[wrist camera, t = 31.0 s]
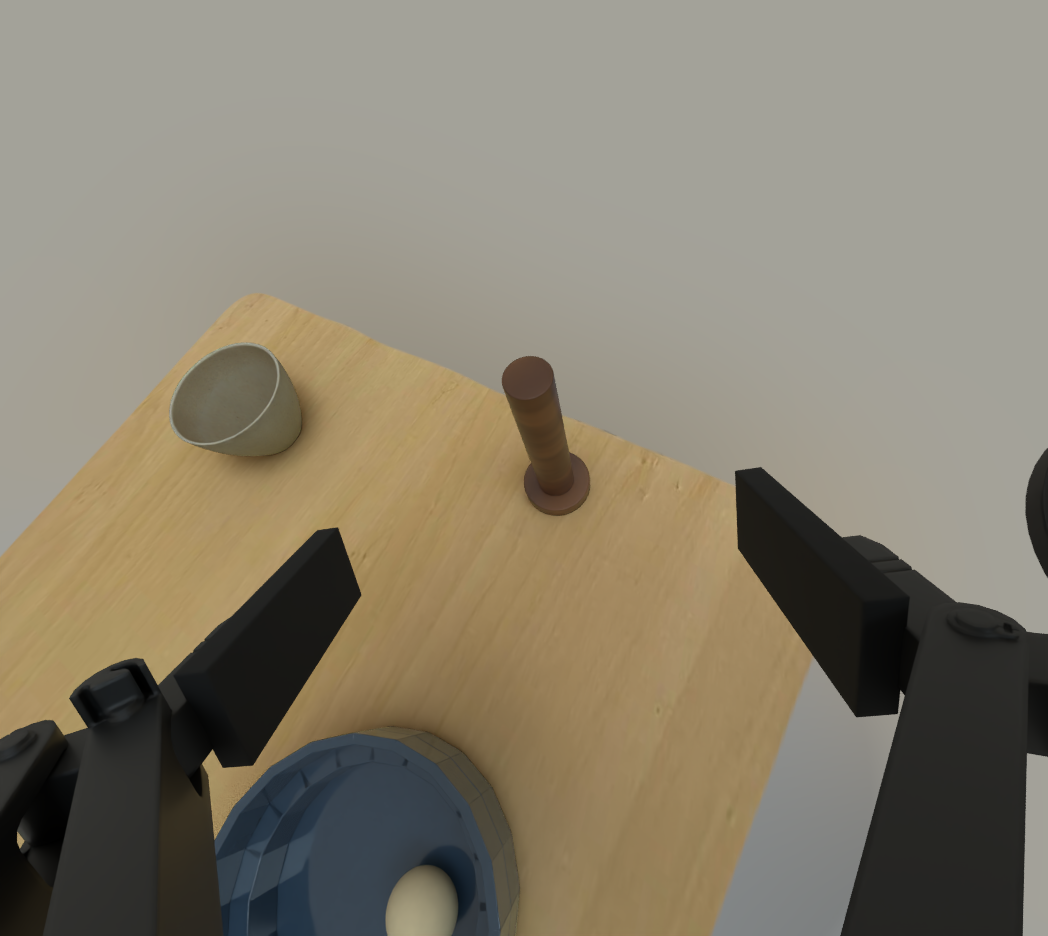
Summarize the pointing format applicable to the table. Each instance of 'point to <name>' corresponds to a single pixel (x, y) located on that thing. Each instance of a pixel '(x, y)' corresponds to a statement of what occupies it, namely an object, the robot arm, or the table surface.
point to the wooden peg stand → (544, 438)
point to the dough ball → (422, 904)
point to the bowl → (364, 838)
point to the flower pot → (237, 403)
